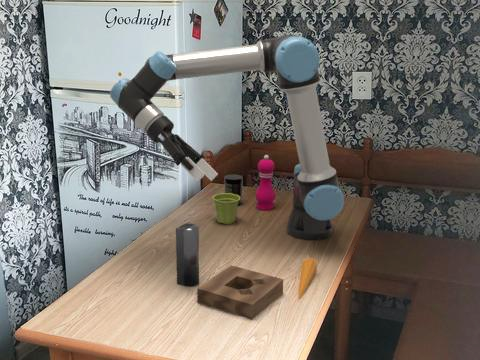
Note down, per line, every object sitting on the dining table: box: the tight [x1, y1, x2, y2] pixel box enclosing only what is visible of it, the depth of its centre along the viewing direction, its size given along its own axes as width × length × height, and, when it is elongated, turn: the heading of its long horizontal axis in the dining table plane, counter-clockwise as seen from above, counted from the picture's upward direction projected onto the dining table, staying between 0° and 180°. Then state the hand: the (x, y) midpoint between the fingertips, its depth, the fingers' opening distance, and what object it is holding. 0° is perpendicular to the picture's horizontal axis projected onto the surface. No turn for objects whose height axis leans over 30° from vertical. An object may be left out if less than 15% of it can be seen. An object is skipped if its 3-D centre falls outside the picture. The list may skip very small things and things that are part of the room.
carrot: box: [297, 257, 318, 300], centre depth 161 cm, size 20×4×4 cm, turn 165°
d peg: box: [175, 222, 200, 288], centre depth 159 cm, size 5×5×16 cm
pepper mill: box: [255, 154, 276, 211], centre depth 217 cm, size 7×7×20 cm
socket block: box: [196, 265, 284, 321], centre depth 153 cm, size 16×16×4 cm
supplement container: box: [223, 173, 244, 206], centre depth 222 cm, size 7×7×10 cm
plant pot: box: [212, 192, 240, 225], centre depth 205 cm, size 9×9×9 cm
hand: (208, 177), depth 163 cm, fingers open, 13 cm apart
